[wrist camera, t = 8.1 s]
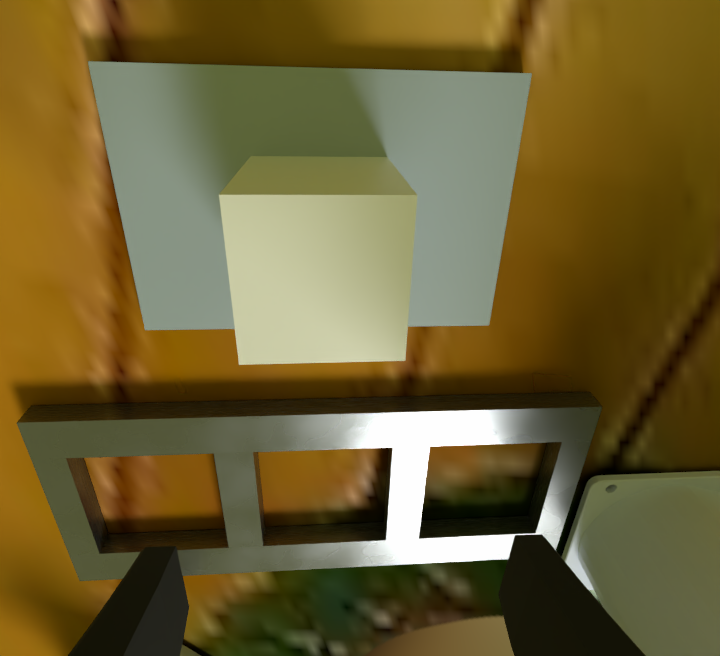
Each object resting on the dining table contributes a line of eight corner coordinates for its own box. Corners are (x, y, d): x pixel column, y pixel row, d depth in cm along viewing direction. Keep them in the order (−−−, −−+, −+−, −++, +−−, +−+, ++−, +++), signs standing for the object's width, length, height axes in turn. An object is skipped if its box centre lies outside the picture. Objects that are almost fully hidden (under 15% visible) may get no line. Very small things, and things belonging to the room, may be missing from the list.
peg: (387, 157, 14) (417, 195, 10) (381, 281, 16) (405, 360, 12) (251, 155, 14) (218, 194, 10) (261, 283, 16) (239, 364, 11)
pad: (523, 73, 14) (531, 73, 13) (484, 317, 18) (489, 325, 17) (96, 61, 13) (87, 61, 13) (150, 321, 17) (144, 330, 16)
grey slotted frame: (589, 391, 20) (602, 406, 19) (545, 539, 24) (553, 556, 23) (31, 405, 18) (16, 422, 17) (89, 560, 22) (79, 580, 21)
